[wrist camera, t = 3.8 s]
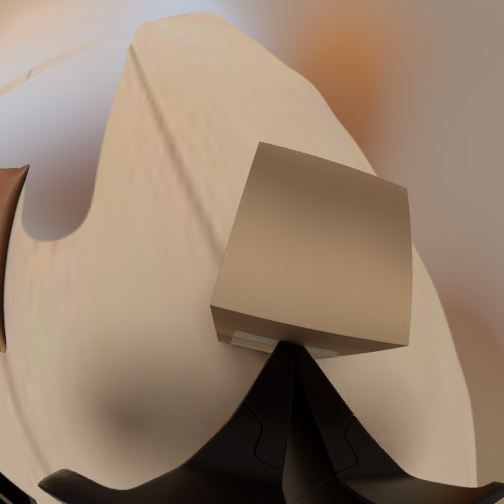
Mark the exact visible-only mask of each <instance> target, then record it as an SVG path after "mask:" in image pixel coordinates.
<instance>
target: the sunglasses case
mask: <svg viewBox="0 0 504 504" xmlns="http://www.w3.org/2000/svg"><path fill="white" fill-rule="evenodd" d="M28 170H29V165H26V166H24V167H22V168H19V169H18V168H14V169H13V168H12V169H11V168H9V169H0V352H3V353H5V352H6V336H5V329H4V317H3V287H4V272H5V263H6V256H7V249H8V242H9V236H10V231H11V227H12V222H13V217H14V213H15V209H16V205H17V201H18V197H19V195H20V192H21V189H22V186H23V183H25V180H26V176H27V173H28Z"/></svg>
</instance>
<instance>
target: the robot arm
mask: <svg viewBox="0 0 504 504" xmlns="http://www.w3.org/2000/svg"><path fill="white" fill-rule="evenodd" d="M353 415H354V414H353V412H352V411H351V410H350V408H349V407H348V405H347V404H346V403H345V401H344V400H343V399H342V397H341V396H340V395H339V393H338V392H337V390H336V389H335V388H334V386H333V385H332V384H331V382H330V381H329V380H328V378H327V377H326V375H325V374H324V373H323V371H322V370H321V369H320V367H319V366H318V364H317V363H316V362H315V360H314V359H313V357H312V356H311V355H310V353H309V352H308V351H307V349H306V348H305V346H303V345H300V344H295V343H292V344H291V343H290V342H286V341H279V342H278V343H277V345H276V347H275V349H274V350H273V352H272V354H271V355H270V357H269V359H268V360H267V362H266V364H265V365H264V367H263V369H262V370H261V372H260V373H259V375H258V377H257V378H256V380H255V381H254V383H253V385H252V386H251V388H250V389H249V391H248V393H247V394H246V396H245V397H244V399H243V401H242V402H241V403H240V405H239V406H238V408H237V409H236V411H235V412H234V413H233V415H232V416H231V417H230V419H229V420H228V421H227V422H226V423H225V424H224V426H223V427H222V428H221V429H220V430H219V431H218V432H217V433H216V434H215V435H214V436H213V437H212V438H211V439H210V440H209V441H208V442H207V443H206V444H205V445H204V446H203V447H202V448H200V449H199V450H198V451H197V452H196V453H195V454H194V455H193V456H192V457H191V458H189V459H188V460H187V461H186V462H184V463H183V464H182V465H180V466H179V467H177V468H175V469H173V470H172V471H170V472H168V473H165V474H163V475H161V476H159V477H157V478H155V479H153V480H151V481H148V482H146V483H144V484H142V485H139V486H137V487H135V488H131V489H128V490H117V489H111V488H108V487H105V486H102V485H100V484H98V483H96V482H94V481H92V480H90V479H88V478H86V477H84V476H82V475H80V474H78V473H76V472H74V471H71V470H68V469H61V470H59V471H57V472H55V473H53V474H51V475H49V476H48V477H46V478H44V479H43V480H42V481H40V482H39V483H38V486H39V487H40V488H41V489H42V490H43V491H45V492H46V493H48V494H49V495H50V496H52V497H53V498H55V499H56V500H58V501H59V502H61V503H62V504H494V503H496V502H497V501H499V500H500V499H502V498H503V497H504V483H500V482H492V483H489V484H487V485H485V486H483V487H477V488H469V487H460V486H454V485H447V484H442V483H437V482H432V481H427V480H422V479H419V478H416V477H413V476H411V475H409V474H408V473H406V472H405V471H404V470H403V469H402V468H401V467H400V466H399V465H398V464H397V463H396V462H395V461H394V460H393V459H392V458H391V457H390V456H389V455H388V454H387V453H386V452H385V451H384V450H383V449H382V448H381V447H380V446H379V444H378V443H377V442H376V441H375V440H374V439H373V438H372V437H371V435H370V434H369V433H368V432H367V431H366V429H365V428H364V427H363V425H362V424H361V423H360V422H359V420H358V419H357V418H356V416H355V415H354V416H353ZM0 504H37V502H36V500H35V499H34V498H32V497H31V496H29V495H28V494H27V493H25V492H24V491H23V490H22V489H20V488H19V487H18V486H16V485H15V484H14V483H13V482H12V481H10V480H9V479H8V478H7V477H6V476H5V475H3V474H2V473H1V472H0Z"/></svg>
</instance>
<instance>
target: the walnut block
mask: <svg viewBox="0 0 504 504" xmlns="http://www.w3.org/2000/svg"><path fill="white" fill-rule="evenodd" d="M411 303H412V244H411V227H410V214H409V203H408V194H407V189H406V188H404V187H402V186H400V185H397V184H395V183H392V182H389V181H387V180H384V179H382V178H379V177H376V176H374V175H371V174H368V173H365V172H362V171H360V170H357V169H354V168H351V167H348V166H345V165H342V164H339V163H336V162H332V161H329V160H326V159H323V158H319V157H316V156H313V155H309V154H306V153H302V152H299V151H295V150H291V149H287V148H284V147H280V146H276V145H272V144H268V143H263V142H259V145H258V148H257V151H256V154H255V157H254V160H253V163H252V166H251V169H250V172H249V176H248V179H247V182H246V185H245V188H244V191H243V195H242V198H241V201H240V204H239V208H238V211H237V214H236V217H235V221H234V224H233V227H232V231H231V234H230V237H229V241H228V244H227V247H226V251H225V254H224V258H223V261H222V264H221V268H220V271H219V275H218V278H217V282H216V285H215V289H214V292H213V296H212V299H211V303H210V307H211V311H212V316H213V320H214V324H215V328H216V332H217V336H218V340H219V341H221V342H225V343H229V344H233V345H237V346H241V347H245V348H249V349H254V350H258V351H262V352H267V353H272V352H273V350H274V349H275V347H276V345H277V343H278V342H279V341H286V342H290V343H291V344H292V343H295V344H300V345H303V346H305V348H306V349H307V351H308V352H309V353H310V355H311V356H312V357H313V359H323V358H333V357H337V356H346V355H354V354H361V353H368V352H375V351H381V350H387V349H393V348H398V347H404V346H408V344H409V333H410V321H411Z"/></svg>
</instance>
